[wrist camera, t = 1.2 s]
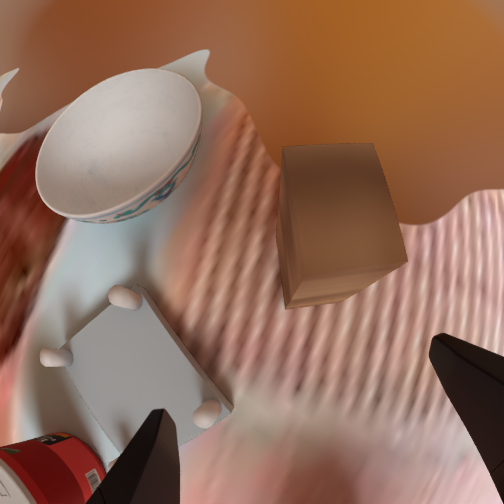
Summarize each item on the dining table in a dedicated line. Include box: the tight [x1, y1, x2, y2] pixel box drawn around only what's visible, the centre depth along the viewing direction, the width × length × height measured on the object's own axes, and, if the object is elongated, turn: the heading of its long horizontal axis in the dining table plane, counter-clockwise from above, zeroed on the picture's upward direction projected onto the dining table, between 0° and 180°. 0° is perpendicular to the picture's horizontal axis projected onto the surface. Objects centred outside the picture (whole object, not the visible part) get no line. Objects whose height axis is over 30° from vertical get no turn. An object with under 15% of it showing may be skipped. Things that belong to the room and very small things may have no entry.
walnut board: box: [276, 143, 408, 309], centre depth 18 cm, size 6×4×12 cm
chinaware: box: [36, 69, 202, 223], centre depth 23 cm, size 15×15×8 cm
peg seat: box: [40, 284, 234, 470], centre depth 19 cm, size 12×10×5 cm
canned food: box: [0, 432, 106, 504], centre depth 13 cm, size 8×8×11 cm
